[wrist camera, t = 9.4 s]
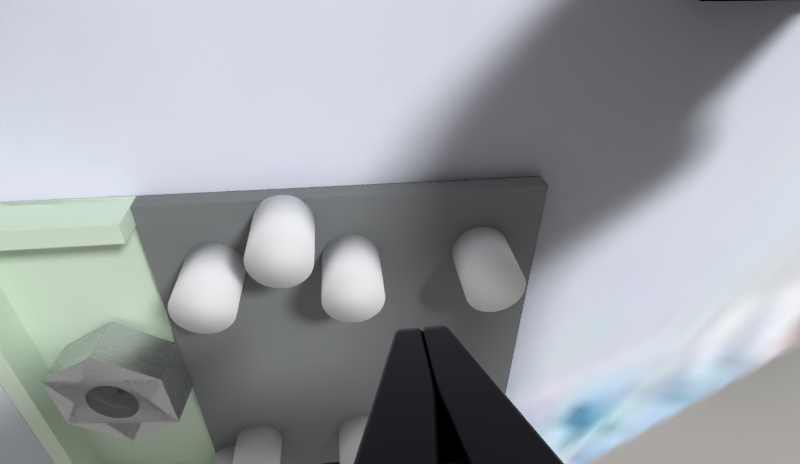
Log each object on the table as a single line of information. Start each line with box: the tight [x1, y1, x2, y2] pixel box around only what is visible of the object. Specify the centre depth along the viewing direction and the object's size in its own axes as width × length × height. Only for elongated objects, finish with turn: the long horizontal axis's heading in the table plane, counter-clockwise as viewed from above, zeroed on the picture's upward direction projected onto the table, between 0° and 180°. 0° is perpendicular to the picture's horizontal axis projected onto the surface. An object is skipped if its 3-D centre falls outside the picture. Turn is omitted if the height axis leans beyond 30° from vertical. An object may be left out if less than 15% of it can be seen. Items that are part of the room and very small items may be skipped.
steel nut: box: [41, 322, 193, 441], centre depth 23 cm, size 5×6×2 cm
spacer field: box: [0, 176, 547, 464], centre depth 23 cm, size 23×18×3 cm
